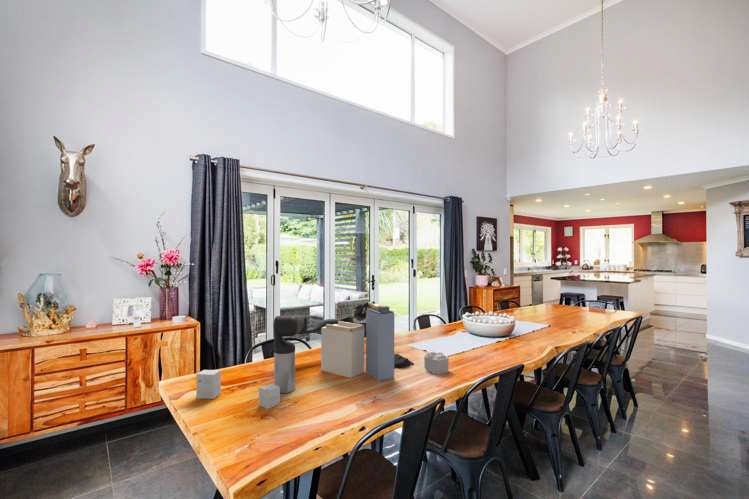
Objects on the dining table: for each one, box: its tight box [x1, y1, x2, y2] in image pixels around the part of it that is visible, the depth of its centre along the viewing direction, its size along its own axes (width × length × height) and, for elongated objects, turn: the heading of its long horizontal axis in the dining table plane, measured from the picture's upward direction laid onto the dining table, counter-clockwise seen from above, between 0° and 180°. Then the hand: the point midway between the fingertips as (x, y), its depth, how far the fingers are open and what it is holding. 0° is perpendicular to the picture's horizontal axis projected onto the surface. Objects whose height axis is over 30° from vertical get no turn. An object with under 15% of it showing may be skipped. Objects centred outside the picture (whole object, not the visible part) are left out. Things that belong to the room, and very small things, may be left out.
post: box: [365, 308, 395, 382], centre depth 178 cm, size 14×9×33 cm, turn 26°
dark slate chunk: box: [394, 353, 415, 370], centre depth 199 cm, size 15×22×5 cm
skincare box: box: [258, 383, 281, 410], centre depth 143 cm, size 6×6×7 cm
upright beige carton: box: [320, 321, 365, 379], centre depth 184 cm, size 20×11×24 cm, turn 56°
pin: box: [363, 301, 390, 314], centre depth 183 cm, size 22×5×3 cm, turn 26°
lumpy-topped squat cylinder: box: [423, 351, 450, 374], centre depth 187 cm, size 10×13×9 cm
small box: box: [195, 369, 222, 400], centre depth 151 cm, size 8×6×10 cm
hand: (371, 303), depth 188 cm, fingers closed on pin, 3 cm apart
